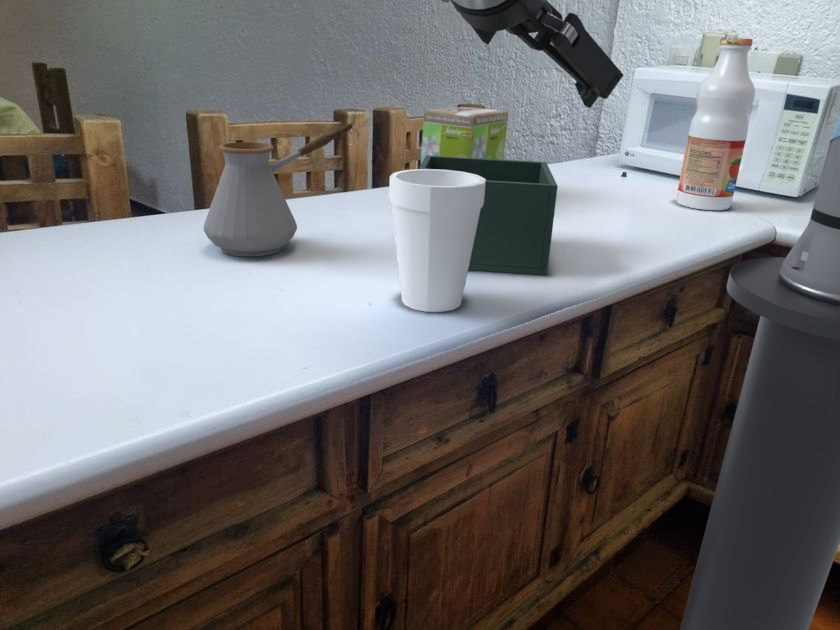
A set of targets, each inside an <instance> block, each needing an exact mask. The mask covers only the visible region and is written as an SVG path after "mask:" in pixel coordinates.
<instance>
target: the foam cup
mask: <svg viewBox="0 0 840 630" xmlns="http://www.w3.org/2000/svg"><path fill="white" fill-rule="evenodd" d="M485 182H486V179H485V178H483V177H481V176H479V175H476V174H471V173H467V172H461V171H452V170H441V169H405V170H400V171H399V170H398V171H394V172H393V173H391V174H390V176H389V182H388V183H389V187H388V189H389V190H388V200H389V201H390V203H391V212H392V213H391V214H392V222H393V223H392V224H393V231H394V232H393V233H394V240H395V241H394V242H395V249H396V252H395V253H396V261H397V270H398V279H399V280H398V281H399V289H400V296H401V301H402V303H403V304H404V306H406V307H408V308H410V309H412V310H414V311H415V310H416V311H421V312H426V313H444V312H448V311H449V312H450V311H454V310H456V309H457V308H459V307H461V305H462V300H463V297H464V293H465V286H466V282H467V277H468V272H469V270H468V268H469V263H470V258H471V253H472V248H473V243H474V239H475V234H476V229H477V224H478V219H479V214H480V209H481V207H483V204H484V195H485Z"/></svg>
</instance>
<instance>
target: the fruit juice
mask: <svg viewBox="0 0 840 630" xmlns="http://www.w3.org/2000/svg"><path fill="white" fill-rule="evenodd" d="M752 46H753V38H747V37H745V38H744V37H721V39H720V41H719V49H720V51H719V56H718V58H717V61H716V63H715V64H714V67H713V68H712V70H711V72H710V73H709V74H708V76H707V77H706V78H705V79H704V80H702V82H701V83H700V84H699V86H698V88H697V92H696V95H695V98H696V110H695V113H694V115H693V116H692V119H691V121H690V125H689V128H688V133H687V137H686V138H687V139H686V144H685V149H684V154H683V158H682V164H681V170H680V175H679V181H678V185H677V190H676V199H675V201H676V203H677V204H678V205H681V206H683V207H688V208H691V209H696V210H704V211H725V210H728V209H730V208H731V205H732V202H733V200H734V194H735V190H736V185H737V180H738V177H739V173H740V167H741V163H742V158H743V155H744V149H745V145H746V142H747V141H746V140H747V137H748V131H749V119H748V115H749V111H750V109H751V107H752V105H753V103H754V100H755V95H756V90H755V89H756V88H755V84H754V83H753V81H752V79H751V76H750V74H749V68H748V65H749V64H748V55H749V51H750V50H751V49H752Z"/></svg>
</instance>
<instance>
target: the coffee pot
mask: <svg viewBox="0 0 840 630" xmlns="http://www.w3.org/2000/svg"><path fill="white" fill-rule="evenodd" d="M352 129H354V130H355V132H356V136H355V135H353V133H352V132H351V130H352ZM344 133H349V134H350V136H351V137H352V138H354V139H358V138H359V137H360V133H359V130H358V128H357V127H356V126H355V125H354V124H353V123H346V124H343V126H342V127H336V128H335V129H334V131H331V132H329V133H325V134H323V135H320V136H319V137H317V138H315V139H314V140H312V141H311V142H308V143H307V144H306V145H304V146H303V147H301V148H299V149H298V150H297V151H294V152H292V153H290V154H289V155H287V156H285V157H283V158H281V159H279V160H277V161H274V162H273V163H271V164H270V155H271V152H272V151H274V146H273V144H271V143H263V142H251V141H249V142H248V141H242V142H241V141H240V142H239V141H237V142H226V143H221V144H220V145H218V150H220V151H222V154H223V158H224V161H225V165H224V167H223V169H222V173H221V176H220V179H219V181H218V185H217V187H216V190H215V192H214V195H213V198H212V201H211V204H210V207H209V209H208V213H207V215H206V218H205V221H204V223H203V232H204V234H205V236H206V238H208V240H209V241H210V242H211V243H212V244H213V245H214V246H216V247H218V248H220V251H221V252H222V253H225V254H227V255H231V256H236V257H251V258H252V257H263V256H264V257H265V256H269V255H273V254H276V253H279V252H280V251H282V250H283V248H284V246H285V245H287V244H288V243H289V242H290V241H291V240H292V239H293V238H294V236H295V235H296V232H297V229H298V225H297V222H296V219H295V217H294V215H293V213H292V210H291V208H290V207H289V204H288V202H287V200H286V198H285V196H284V194H283V192H282V189H281V187H280V185H279V183H278V181H277V179H276V176H275V174H274V172H276V171H278V170H280V169H281V168H283V167H285V166H286V165H288V164H290V163H292V162H293V161H295V160H297V159H299V158H300V157H304V156H306V155H308V154H310V153H312V152H314V151H316V150H318V149H321V148H322V147H325V146H327V145H328V144H330V143H331V142H332V141H333V140H334V139H336V138H342V136H343V134H344Z"/></svg>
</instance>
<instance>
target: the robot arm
mask: <svg viewBox="0 0 840 630" xmlns="http://www.w3.org/2000/svg"><path fill="white" fill-rule="evenodd" d="M441 2H443V3H449V2H451V4H452V5H453V7H454V9H455V10H456V12H458V13H459V15H460V16H461V17H462V19H463V20H464V21H466V23H467V24H468V25H470V26H471V28H472V29H473V31H474V32H475V33H476V35H477V36H478V37H479V39H480V41H481V42H482V43H484V44H485V45H487V46H488V45H489V44H490V43H491V41H492V40H493V38H494V36H495V35H496V33H498V32H501V31H506V32H507V33H509V34H510V35H513V36H517V38H519V39H520V40H521V41H522V42H523V43H524V44H526V45H527V46H528V47H529V48H530V49H531V50H534V51H539V52H541V51H542V52H543V53H545V54H546V55H547V56H548V57H549V58H550V59H551V60H552V61H554V62H555V63H556V64H557V65H558V66H559V67H560V68H561V69H562V70H564V72H566V73H567V74H568V75H569V76H570V77H571V78H573V80H575V81H576V82H575V83H574V85H575V88H576V91H577V95H579V98H580V99H581V101H582V103H583V106H584V107H585V106H586V107H587V108H588V109H591V108H592V107H593V105H595V103H596V101H597V100H598V99H599V98H601V99H604V100H607V99H609V97H610V95H611V94H612V92H613V91H614V90H615V88H616V87H617V86H618V83H620V82H621V80H622V78H623V77H624V73H623V72H622V70H620V69H619V68H618V67H617V65H616V64H615V63H614V62H613V61H612V59H611V58H610V57H609V56H608V54H607V53H606V52H605V51H604V50H603V49H602V47H600V45H599V44H598V43H597V42H596V40H595V39H594V38H593V37H592V36H591V35H590V33H589V32H588V31H587V30H586V28H585V26H584V24H583V22H582V20H581V19H580V17H579V15H577V14H576V13H573V12H568V14H567V15H566V16H565V18H563V15H562V14H561V12H559V11H558V10H557V8H555V7H554V6H553V5H552V4H551V3H550V2H549V1H548V0H441ZM534 33H536V35H535V36H534V37H533V36H532V35H530V34H534ZM828 142H829V143H828V148H827V152H826V156H825V160H824V163H823V168H822V171H821V175H820V179H819V183H818V187H817V190H816V195H815V200H814V202H813V207H812V210H811V214H810V217H809V221H808V224H807V226H806V227H805V229H804V230H803V231H802V233H801V235H800V236H799V238H798V239H797V241H796V242H795V243H794V244H793V246H792V248H791V249H790V251H789V252H788V253H787V255H786V257H784V258H785V260H784V261H783V264H782V267H781V268H780V272H779V276H778V280H779V282H780V283H781V284H782V285H784V286H785V287H786V288H788V289H790V290H792V291H794V292H796V293H798V294H800V295H803V296H806V297H808V298H811V299H815V300H818V301H821V302H825V303H829V304H833V305H837V306H840V115H839V117H838V119H837V121H836V125H835V127H834V130H833V133H832V136H831V137H830V139H829V140H828Z"/></svg>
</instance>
